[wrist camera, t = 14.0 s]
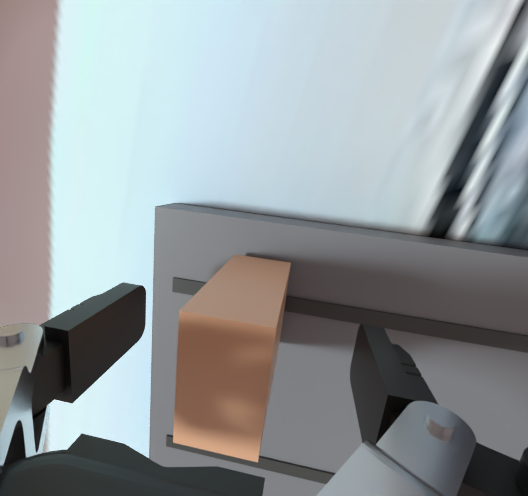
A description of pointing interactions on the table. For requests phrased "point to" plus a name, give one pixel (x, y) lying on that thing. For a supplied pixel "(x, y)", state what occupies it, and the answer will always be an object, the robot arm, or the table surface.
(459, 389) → the fader panel
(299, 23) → the table surface
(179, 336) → the block
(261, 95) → the table surface
